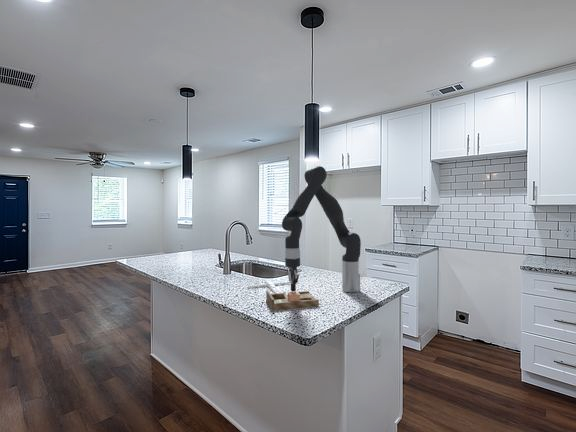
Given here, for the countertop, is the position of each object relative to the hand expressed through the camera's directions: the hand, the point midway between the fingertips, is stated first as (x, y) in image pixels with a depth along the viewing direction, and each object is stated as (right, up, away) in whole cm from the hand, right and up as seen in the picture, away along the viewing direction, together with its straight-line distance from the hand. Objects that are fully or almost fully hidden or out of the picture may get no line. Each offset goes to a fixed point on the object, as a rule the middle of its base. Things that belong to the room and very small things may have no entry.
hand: (293, 291), depth 153 cm
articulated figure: (-11, -6, +24) cm, 27 cm away
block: (0, -4, -5) cm, 6 cm away
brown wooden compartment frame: (0, -6, 0) cm, 6 cm away
